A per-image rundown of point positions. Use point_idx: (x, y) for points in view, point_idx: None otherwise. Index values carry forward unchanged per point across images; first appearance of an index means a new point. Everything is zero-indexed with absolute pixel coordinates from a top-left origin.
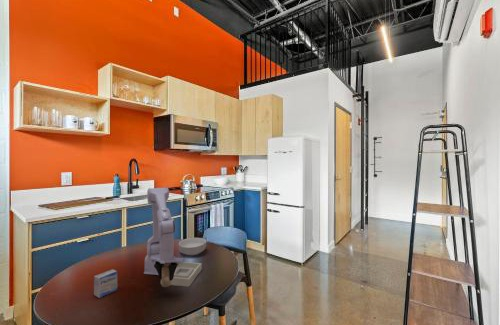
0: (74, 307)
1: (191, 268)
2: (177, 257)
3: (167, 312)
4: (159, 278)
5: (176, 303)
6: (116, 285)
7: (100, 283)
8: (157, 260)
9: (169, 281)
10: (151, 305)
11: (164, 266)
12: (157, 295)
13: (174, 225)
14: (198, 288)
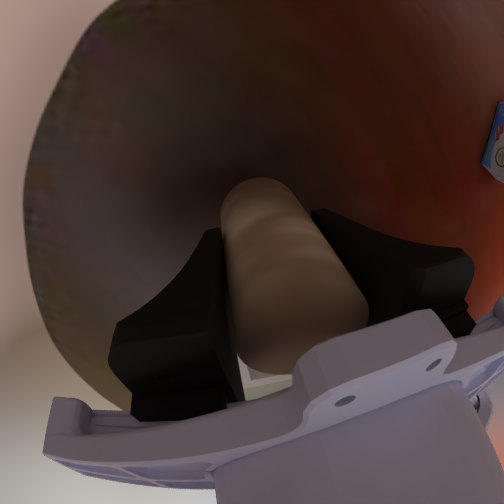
0: None
1: (247, 385)
2: (179, 486)
3: (123, 47)
4: (330, 211)
5: (127, 136)
6: (496, 168)
7: None
8: (484, 345)
9: (223, 223)
10: (269, 63)
11: (333, 324)
12: (300, 163)
13: None
14: (123, 296)
